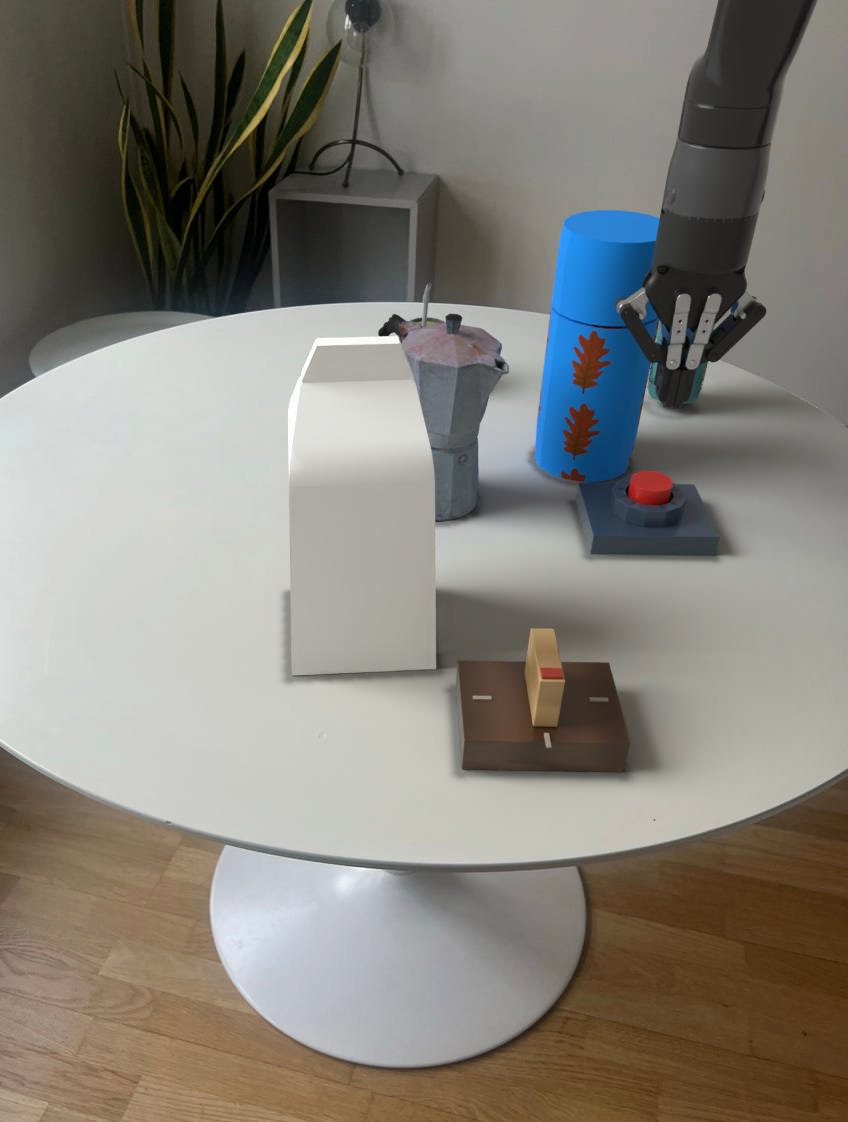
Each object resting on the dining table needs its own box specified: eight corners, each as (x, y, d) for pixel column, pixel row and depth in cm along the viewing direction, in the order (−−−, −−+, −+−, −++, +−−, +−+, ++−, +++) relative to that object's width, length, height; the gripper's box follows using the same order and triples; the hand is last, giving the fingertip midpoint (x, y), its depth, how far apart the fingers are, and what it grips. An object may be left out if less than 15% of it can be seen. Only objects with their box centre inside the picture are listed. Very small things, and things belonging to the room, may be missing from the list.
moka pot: (469, 544, 95) (485, 347, 82) (346, 494, 102) (343, 307, 89) (518, 503, 101) (540, 314, 88) (399, 459, 108) (403, 278, 95)
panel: (602, 685, 79) (608, 655, 77) (625, 778, 71) (633, 748, 69) (455, 683, 79) (457, 653, 77) (462, 775, 71) (465, 745, 69)
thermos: (523, 473, 105) (552, 236, 89) (541, 430, 113) (570, 205, 97) (624, 490, 103) (672, 248, 87) (635, 444, 111) (681, 215, 95)
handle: (524, 672, 75) (530, 625, 72) (547, 673, 75) (554, 625, 72) (532, 726, 71) (540, 678, 68) (557, 727, 71) (565, 678, 68)
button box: (689, 502, 101) (698, 468, 98) (714, 556, 93) (724, 521, 91) (575, 500, 101) (580, 467, 99) (590, 554, 93) (596, 519, 91)
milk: (291, 675, 80) (271, 377, 63) (290, 592, 88) (272, 312, 72) (436, 668, 80) (453, 372, 64) (420, 587, 89) (432, 308, 73)
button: (664, 486, 96) (668, 470, 95) (673, 507, 93) (677, 491, 92) (624, 485, 96) (627, 470, 95) (632, 506, 93) (635, 491, 92)
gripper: (778, 189, 80) (730, 386, 91) (618, 190, 80) (590, 387, 91) (811, 214, 74) (755, 422, 85) (639, 215, 74) (605, 423, 85)
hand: (670, 404), depth 88 cm, fingers closed
